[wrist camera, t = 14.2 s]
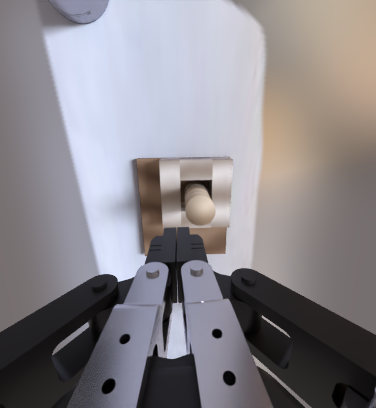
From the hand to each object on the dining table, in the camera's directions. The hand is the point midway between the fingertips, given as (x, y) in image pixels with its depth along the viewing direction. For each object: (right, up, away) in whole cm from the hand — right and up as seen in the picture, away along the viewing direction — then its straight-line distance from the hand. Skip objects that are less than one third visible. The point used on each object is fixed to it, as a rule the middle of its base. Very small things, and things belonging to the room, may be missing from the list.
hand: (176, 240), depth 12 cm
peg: (+2, +5, +25) cm, 26 cm away
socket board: (0, +2, +28) cm, 28 cm away
